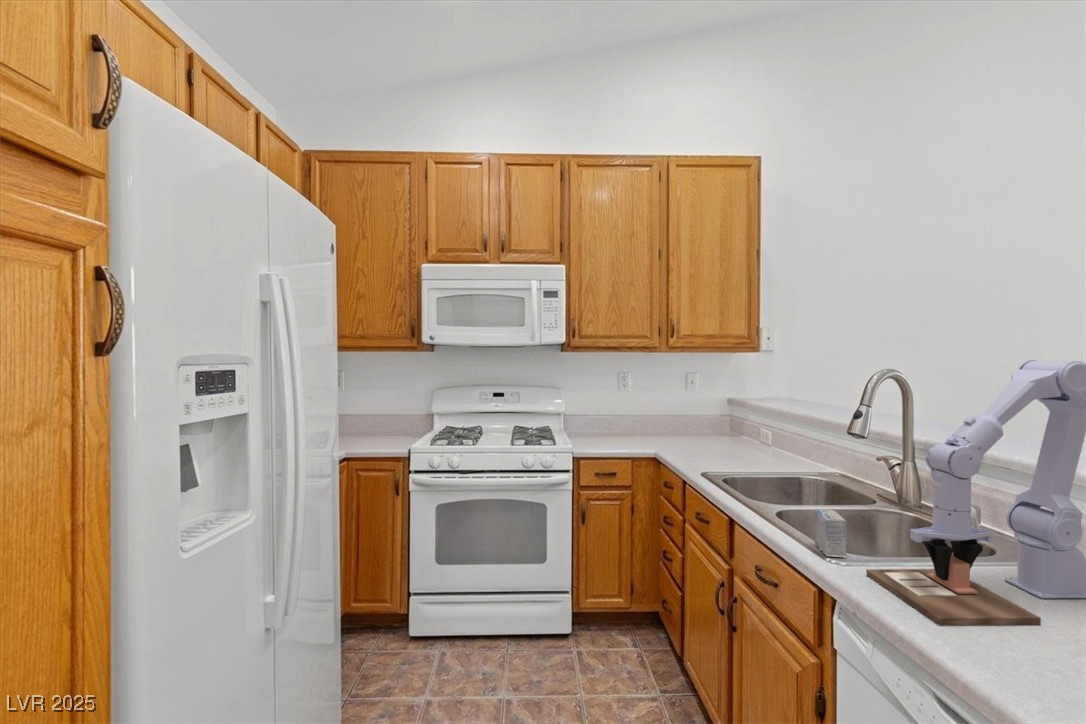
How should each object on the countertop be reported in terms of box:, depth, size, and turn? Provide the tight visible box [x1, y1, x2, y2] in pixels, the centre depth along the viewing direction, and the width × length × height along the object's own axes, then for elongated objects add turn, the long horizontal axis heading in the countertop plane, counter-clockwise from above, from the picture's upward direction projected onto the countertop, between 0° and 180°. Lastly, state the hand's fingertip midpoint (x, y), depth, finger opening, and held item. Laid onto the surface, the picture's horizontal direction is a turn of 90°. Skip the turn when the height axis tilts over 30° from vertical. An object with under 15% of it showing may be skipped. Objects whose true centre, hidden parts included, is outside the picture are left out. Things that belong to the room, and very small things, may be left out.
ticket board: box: [866, 568, 1042, 626], centre depth 99 cm, size 17×20×2 cm
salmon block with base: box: [927, 554, 978, 594], centre depth 101 cm, size 4×8×5 cm, turn 0°
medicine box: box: [814, 509, 847, 557], centre depth 122 cm, size 8×4×9 cm, turn 168°
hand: (951, 578), depth 101 cm, fingers closed on salmon block with base, 3 cm apart
